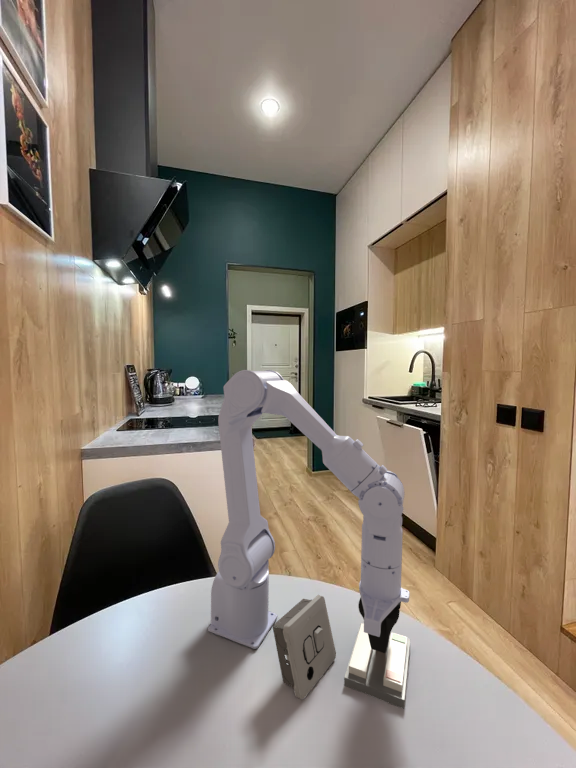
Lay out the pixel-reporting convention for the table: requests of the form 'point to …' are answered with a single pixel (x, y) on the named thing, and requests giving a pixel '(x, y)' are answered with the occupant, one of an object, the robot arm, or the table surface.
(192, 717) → the table surface
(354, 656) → the breaker base
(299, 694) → the electrical switch
